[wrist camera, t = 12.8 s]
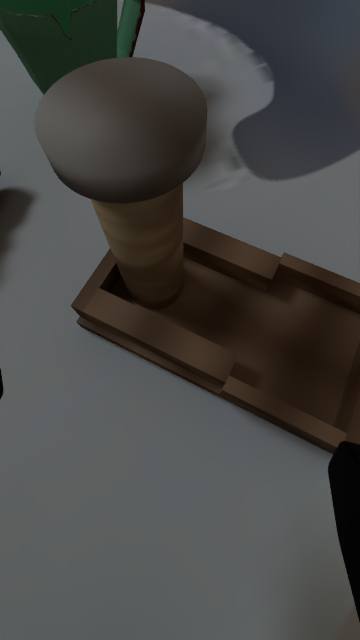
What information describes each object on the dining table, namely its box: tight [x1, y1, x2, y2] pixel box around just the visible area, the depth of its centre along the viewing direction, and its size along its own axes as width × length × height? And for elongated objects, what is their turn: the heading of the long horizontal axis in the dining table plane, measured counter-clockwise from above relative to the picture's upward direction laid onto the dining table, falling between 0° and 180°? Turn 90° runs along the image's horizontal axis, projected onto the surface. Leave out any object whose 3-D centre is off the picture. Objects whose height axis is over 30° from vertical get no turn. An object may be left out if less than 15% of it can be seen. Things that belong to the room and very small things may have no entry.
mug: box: [0, 0, 145, 95], centre depth 27 cm, size 15×10×10 cm
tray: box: [71, 217, 360, 454], centre depth 22 cm, size 20×11×3 cm, turn 63°
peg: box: [35, 57, 207, 309], centre depth 17 cm, size 6×6×13 cm
